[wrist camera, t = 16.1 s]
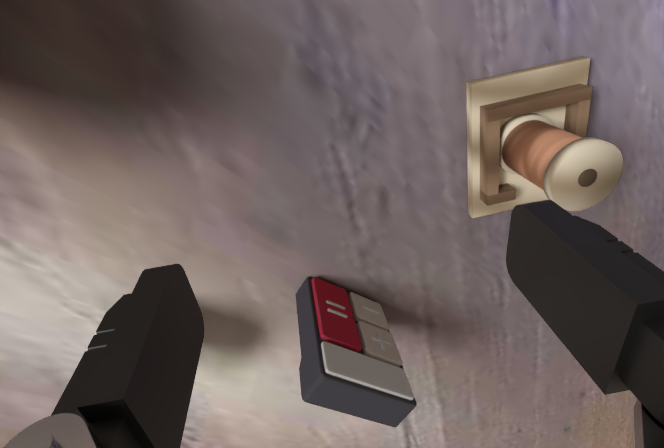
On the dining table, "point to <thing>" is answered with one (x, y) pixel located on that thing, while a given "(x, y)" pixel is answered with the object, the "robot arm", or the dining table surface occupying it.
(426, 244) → the dining table surface
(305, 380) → the calculator
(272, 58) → the dining table surface
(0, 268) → the dining table surface
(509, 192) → the board
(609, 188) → the bobbin
